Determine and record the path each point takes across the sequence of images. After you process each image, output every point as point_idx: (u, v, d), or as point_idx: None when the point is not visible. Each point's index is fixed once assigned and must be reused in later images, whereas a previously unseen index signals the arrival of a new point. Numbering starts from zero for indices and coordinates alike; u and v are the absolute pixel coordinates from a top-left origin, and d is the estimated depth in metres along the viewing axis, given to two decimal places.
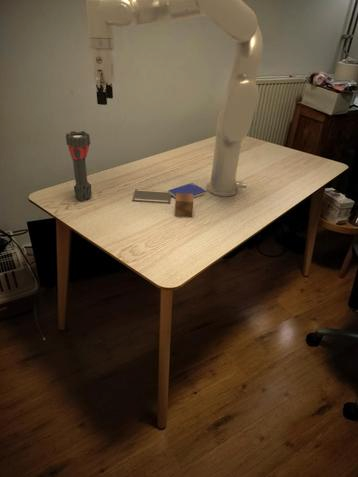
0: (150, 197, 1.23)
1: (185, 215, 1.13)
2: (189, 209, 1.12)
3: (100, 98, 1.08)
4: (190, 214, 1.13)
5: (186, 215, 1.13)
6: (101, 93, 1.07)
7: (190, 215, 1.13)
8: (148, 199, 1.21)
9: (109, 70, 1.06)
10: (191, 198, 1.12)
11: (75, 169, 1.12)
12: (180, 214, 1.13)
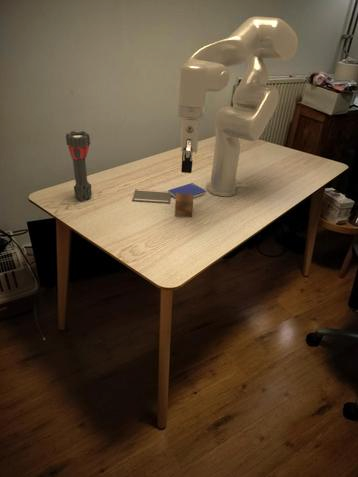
0: (150, 197, 1.23)
1: (185, 215, 1.13)
2: (189, 209, 1.12)
3: (186, 167, 1.00)
4: (190, 214, 1.13)
5: (186, 215, 1.13)
6: (187, 162, 0.99)
7: (190, 215, 1.13)
8: (148, 199, 1.21)
9: None
10: (191, 198, 1.12)
11: (75, 169, 1.12)
12: (180, 214, 1.13)
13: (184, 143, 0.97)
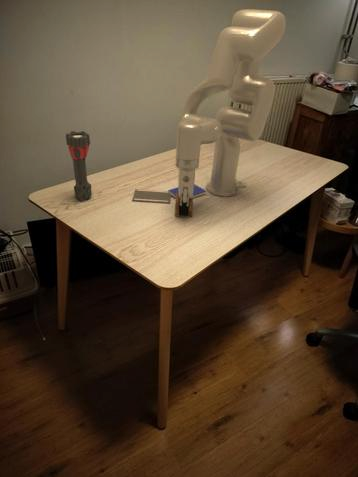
0: (150, 197, 1.23)
1: None
2: (189, 209, 1.12)
3: (183, 211, 1.11)
4: (190, 214, 1.13)
5: None
6: (184, 207, 1.10)
7: (190, 215, 1.13)
8: (148, 199, 1.21)
9: None
10: None
11: (75, 169, 1.12)
12: None
13: (181, 190, 1.06)
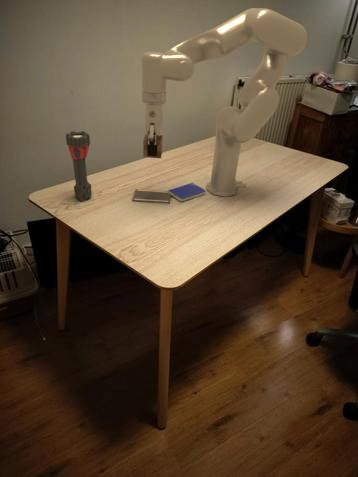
0: (150, 197, 1.23)
1: (154, 156, 1.12)
2: (157, 149, 1.11)
3: (151, 150, 1.09)
4: (159, 155, 1.12)
5: (155, 156, 1.12)
6: (152, 146, 1.09)
7: (159, 156, 1.12)
8: (148, 199, 1.21)
9: (161, 122, 1.05)
10: (160, 138, 1.11)
11: (75, 169, 1.12)
12: None
13: (148, 127, 1.04)
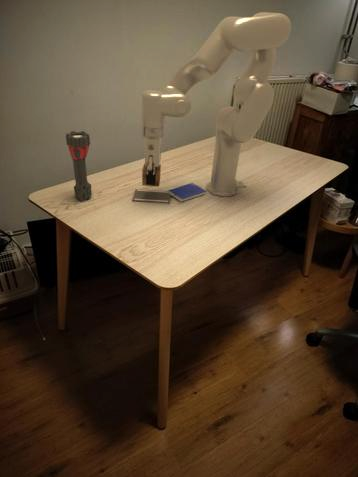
0: (150, 197, 1.23)
1: None
2: (156, 178, 1.17)
3: (149, 180, 1.16)
4: (157, 183, 1.18)
5: None
6: (151, 176, 1.15)
7: (157, 184, 1.18)
8: (148, 199, 1.21)
9: (159, 154, 1.11)
10: (158, 168, 1.17)
11: (75, 169, 1.12)
12: None
13: (147, 159, 1.10)
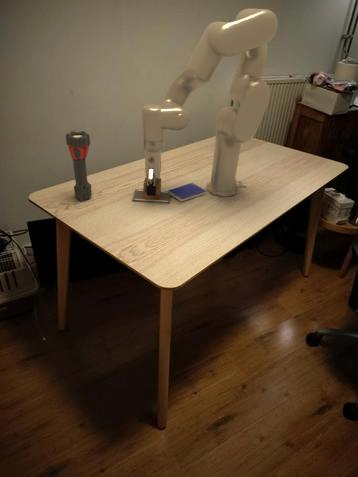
0: None
1: (153, 198, 1.21)
2: (156, 192, 1.20)
3: (150, 191, 1.17)
4: (158, 197, 1.21)
5: (154, 198, 1.21)
6: (151, 187, 1.16)
7: (158, 198, 1.21)
8: (148, 199, 1.21)
9: (159, 166, 1.14)
10: (158, 182, 1.20)
11: (75, 169, 1.12)
12: (148, 197, 1.21)
13: (147, 171, 1.13)
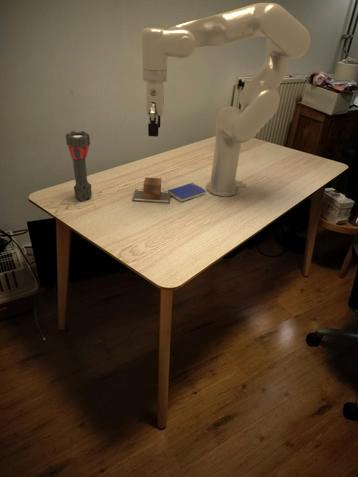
0: None
1: (153, 198, 1.21)
2: (156, 192, 1.20)
3: (152, 130, 1.05)
4: (158, 197, 1.21)
5: (154, 198, 1.21)
6: (153, 125, 1.04)
7: (158, 198, 1.21)
8: (148, 199, 1.21)
9: (162, 102, 1.02)
10: (158, 182, 1.20)
11: (75, 169, 1.12)
12: (148, 197, 1.21)
13: (149, 106, 1.01)
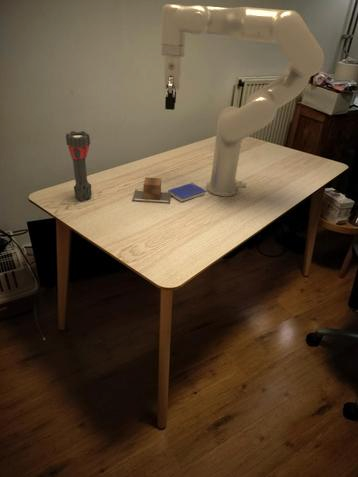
0: None
1: (153, 198, 1.21)
2: (156, 192, 1.20)
3: (169, 103, 1.11)
4: (158, 197, 1.21)
5: (154, 198, 1.21)
6: (170, 98, 1.10)
7: (158, 198, 1.21)
8: (148, 199, 1.21)
9: (179, 76, 1.08)
10: (158, 182, 1.20)
11: (75, 169, 1.12)
12: (148, 197, 1.21)
13: (167, 80, 1.08)
